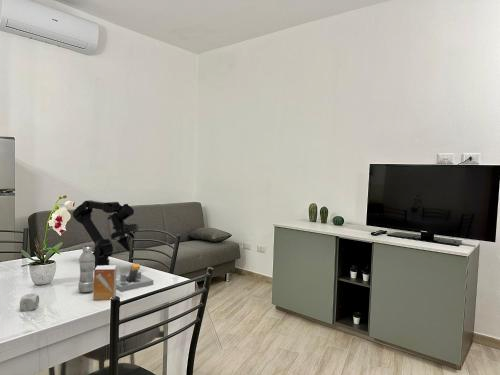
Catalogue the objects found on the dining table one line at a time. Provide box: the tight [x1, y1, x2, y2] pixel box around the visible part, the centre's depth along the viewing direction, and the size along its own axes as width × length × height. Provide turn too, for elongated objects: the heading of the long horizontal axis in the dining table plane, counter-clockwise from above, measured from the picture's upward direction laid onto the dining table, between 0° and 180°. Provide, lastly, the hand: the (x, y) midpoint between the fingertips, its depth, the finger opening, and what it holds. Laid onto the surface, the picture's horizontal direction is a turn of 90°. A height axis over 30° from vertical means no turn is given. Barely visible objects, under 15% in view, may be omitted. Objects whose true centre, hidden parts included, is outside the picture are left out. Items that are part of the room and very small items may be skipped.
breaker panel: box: [116, 270, 154, 293], centre depth 164 cm, size 14×16×5 cm
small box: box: [92, 264, 118, 301], centre depth 146 cm, size 8×6×13 cm
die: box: [19, 293, 40, 312], centre depth 131 cm, size 5×5×5 cm
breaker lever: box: [126, 262, 141, 283], centre depth 162 cm, size 2×4×10 cm, turn 135°
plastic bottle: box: [77, 245, 95, 293], centre depth 151 cm, size 6×7×20 cm
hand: (129, 251), depth 178 cm, fingers closed
